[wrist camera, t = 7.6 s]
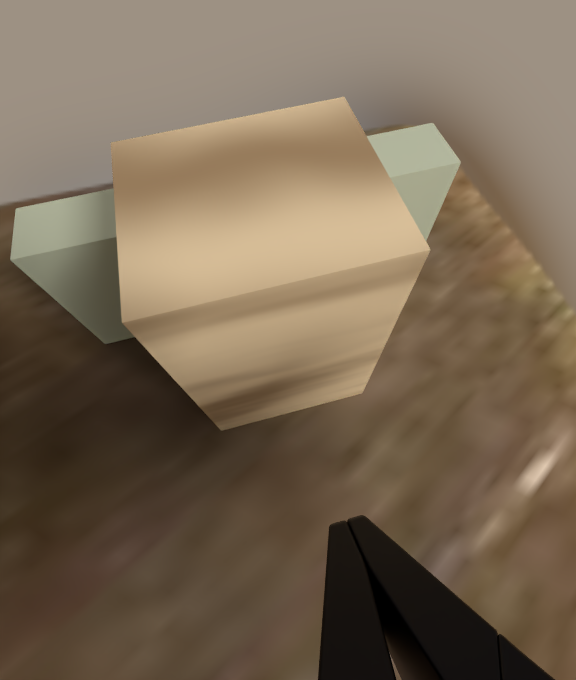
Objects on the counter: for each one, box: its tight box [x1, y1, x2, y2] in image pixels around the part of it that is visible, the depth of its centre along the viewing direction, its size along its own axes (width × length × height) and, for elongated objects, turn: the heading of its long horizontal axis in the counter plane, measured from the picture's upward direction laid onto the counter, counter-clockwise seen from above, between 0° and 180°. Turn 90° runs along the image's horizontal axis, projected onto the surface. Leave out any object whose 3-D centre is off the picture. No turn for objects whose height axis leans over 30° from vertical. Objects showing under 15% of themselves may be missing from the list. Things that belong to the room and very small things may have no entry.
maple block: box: [111, 97, 431, 431], centre depth 16 cm, size 7×8×12 cm
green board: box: [10, 123, 461, 344], centre depth 20 cm, size 3×20×8 cm, turn 105°
